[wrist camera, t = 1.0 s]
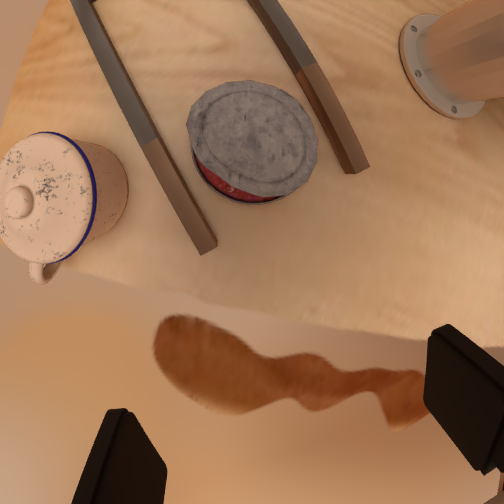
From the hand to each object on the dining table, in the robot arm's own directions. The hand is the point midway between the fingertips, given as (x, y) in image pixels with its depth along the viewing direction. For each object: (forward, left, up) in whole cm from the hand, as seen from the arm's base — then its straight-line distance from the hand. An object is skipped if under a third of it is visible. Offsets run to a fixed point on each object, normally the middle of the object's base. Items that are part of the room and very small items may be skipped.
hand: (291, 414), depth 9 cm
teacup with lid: (+11, -11, -21) cm, 26 cm away
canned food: (-5, -8, -21) cm, 23 cm away
